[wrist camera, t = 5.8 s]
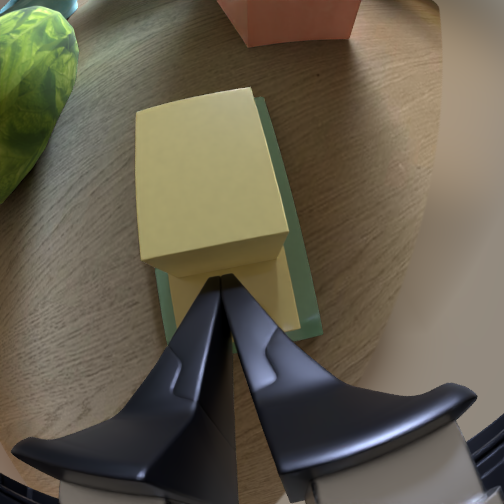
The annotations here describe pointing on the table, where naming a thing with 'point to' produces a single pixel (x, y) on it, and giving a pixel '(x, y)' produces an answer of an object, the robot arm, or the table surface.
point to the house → (290, 19)
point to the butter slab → (206, 185)
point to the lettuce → (32, 86)
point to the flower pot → (63, 3)
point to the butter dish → (289, 247)
